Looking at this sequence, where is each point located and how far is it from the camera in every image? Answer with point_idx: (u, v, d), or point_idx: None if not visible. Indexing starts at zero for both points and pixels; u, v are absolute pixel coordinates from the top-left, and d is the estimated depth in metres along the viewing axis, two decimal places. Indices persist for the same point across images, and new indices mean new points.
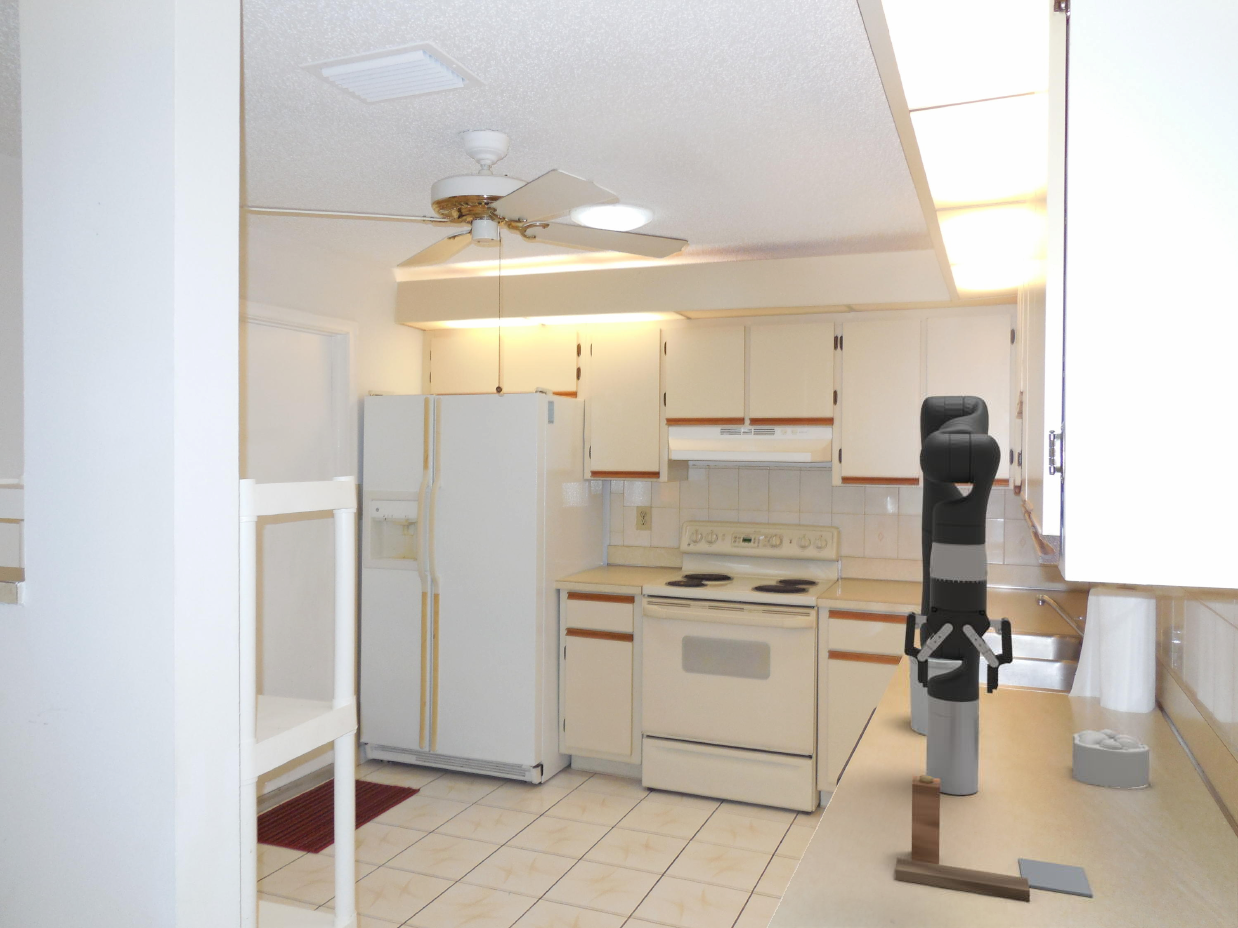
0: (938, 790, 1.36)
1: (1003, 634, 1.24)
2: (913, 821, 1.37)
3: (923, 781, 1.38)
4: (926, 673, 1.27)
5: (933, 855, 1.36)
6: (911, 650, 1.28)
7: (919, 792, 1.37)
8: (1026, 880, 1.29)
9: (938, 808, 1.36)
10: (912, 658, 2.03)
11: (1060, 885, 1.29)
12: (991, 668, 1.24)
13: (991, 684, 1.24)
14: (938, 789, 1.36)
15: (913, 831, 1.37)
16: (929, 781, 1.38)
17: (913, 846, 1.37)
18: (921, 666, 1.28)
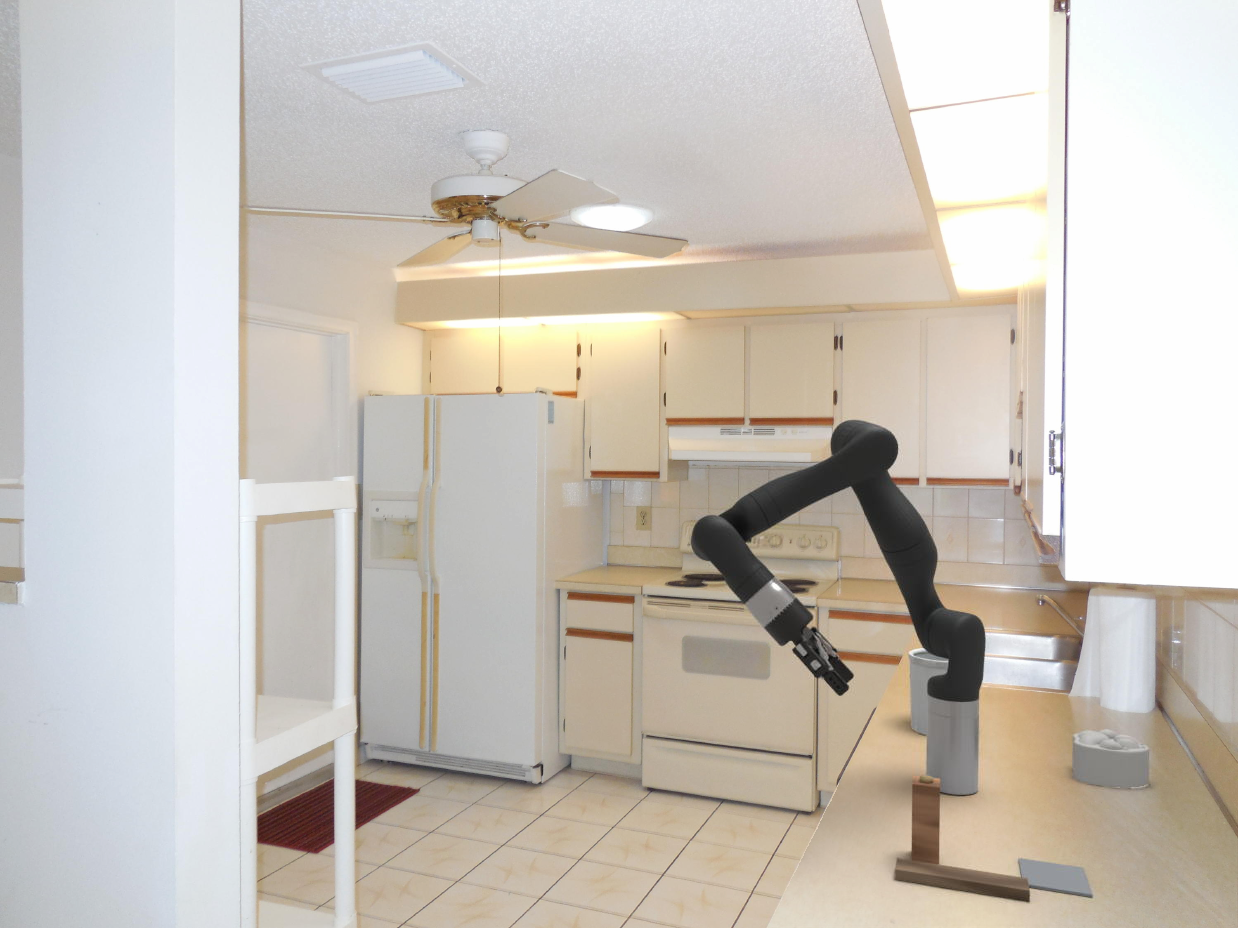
0: (938, 790, 1.36)
1: None
2: (913, 821, 1.37)
3: (923, 781, 1.38)
4: None
5: (933, 855, 1.36)
6: None
7: (919, 792, 1.37)
8: (1026, 880, 1.29)
9: (938, 808, 1.36)
10: (912, 658, 2.03)
11: (1060, 885, 1.29)
12: (824, 679, 1.43)
13: (834, 690, 1.43)
14: (938, 789, 1.36)
15: (913, 831, 1.37)
16: (929, 781, 1.38)
17: (913, 846, 1.37)
18: None
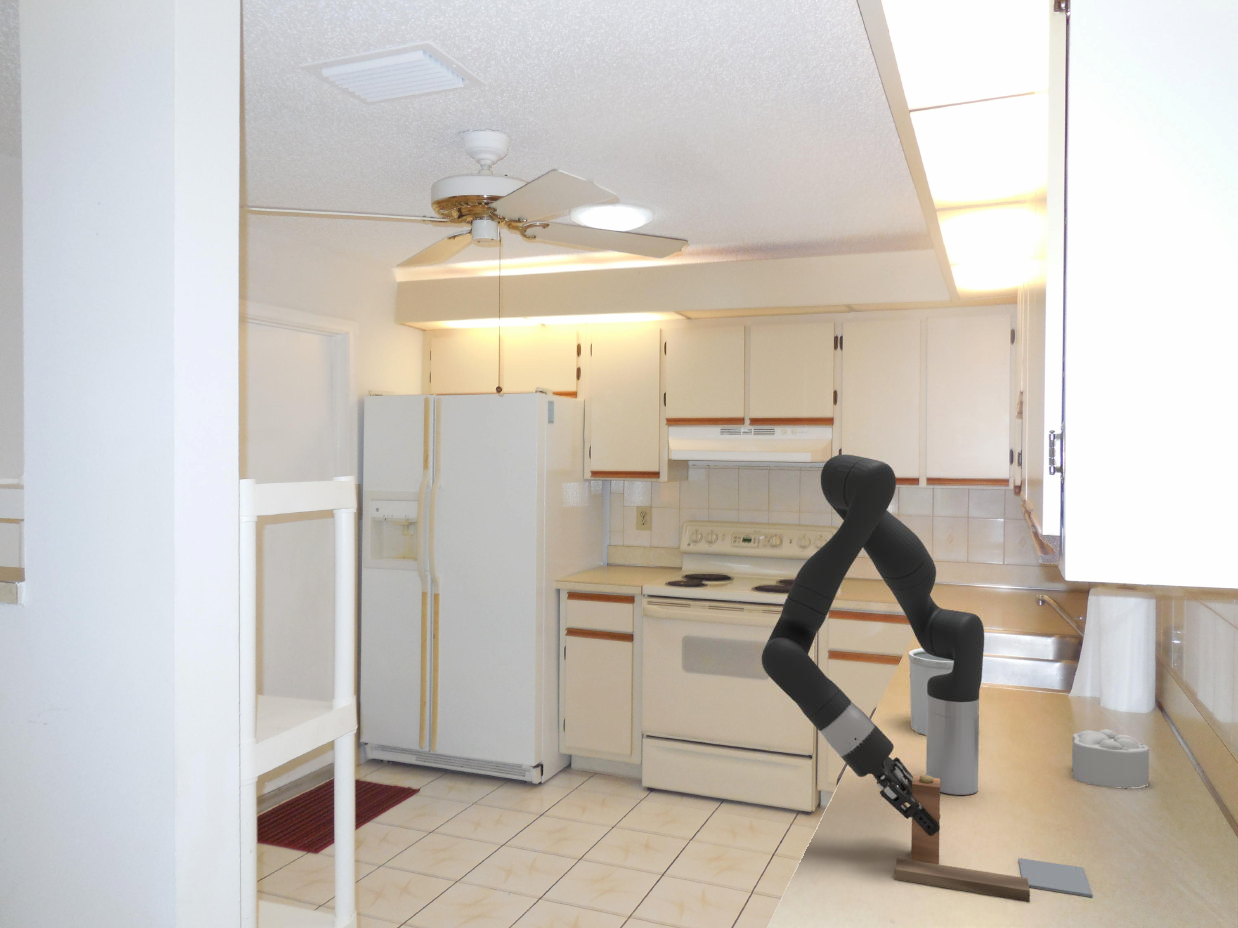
0: (938, 790, 1.36)
1: None
2: (913, 821, 1.37)
3: (923, 781, 1.38)
4: None
5: (933, 855, 1.36)
6: None
7: (919, 792, 1.37)
8: (1026, 880, 1.29)
9: (938, 808, 1.36)
10: (912, 658, 2.03)
11: (1060, 885, 1.29)
12: (913, 817, 1.37)
13: (923, 829, 1.36)
14: (938, 789, 1.36)
15: (913, 831, 1.37)
16: (929, 781, 1.38)
17: (913, 846, 1.37)
18: None
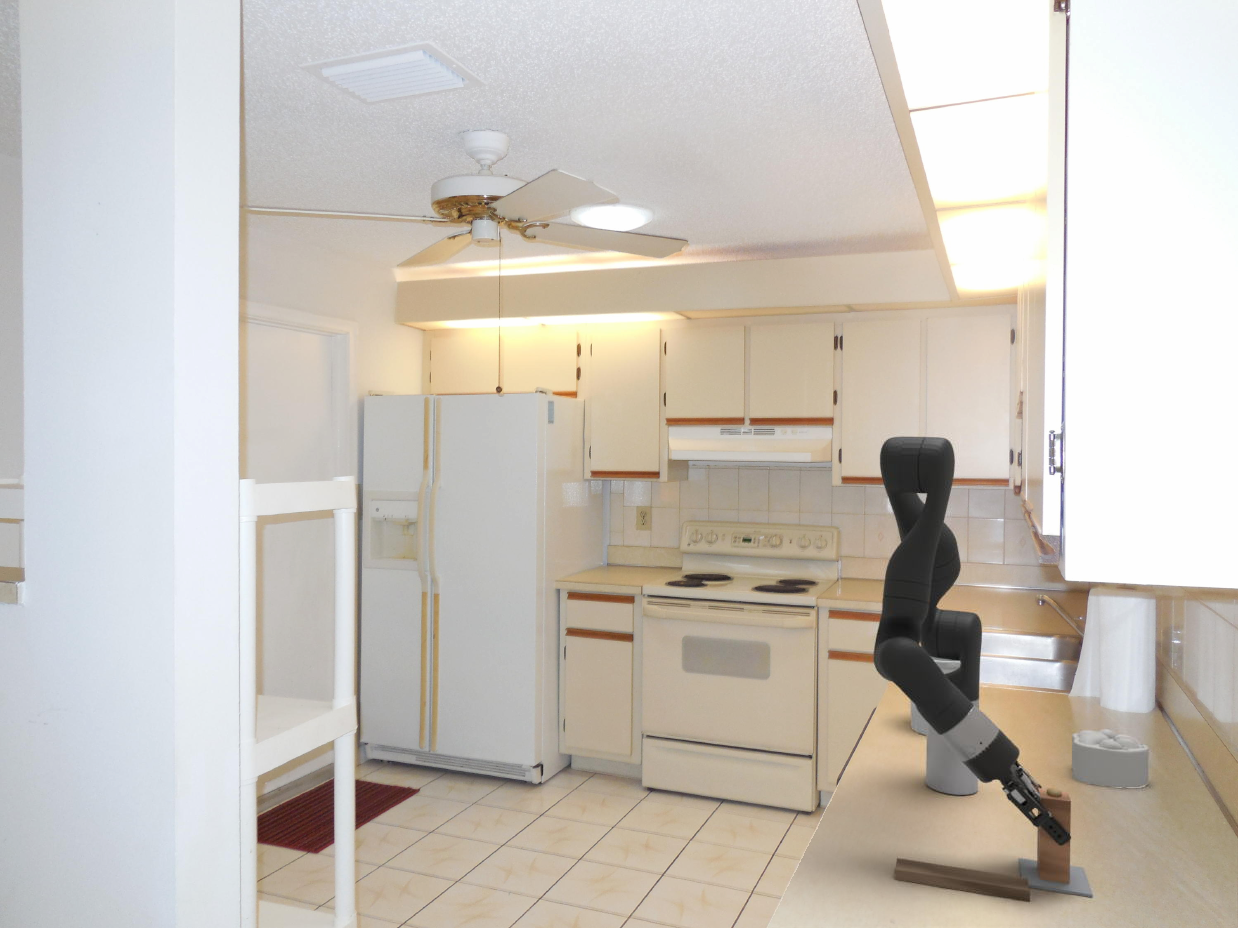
0: (1069, 804, 1.30)
1: None
2: (1041, 836, 1.31)
3: (1051, 794, 1.32)
4: None
5: (1063, 872, 1.30)
6: None
7: (1048, 806, 1.31)
8: (1026, 880, 1.29)
9: (1069, 823, 1.30)
10: None
11: (1060, 885, 1.29)
12: (1041, 826, 1.30)
13: (1053, 838, 1.29)
14: (1069, 803, 1.30)
15: (1041, 847, 1.31)
16: (1058, 794, 1.32)
17: (1041, 862, 1.31)
18: None
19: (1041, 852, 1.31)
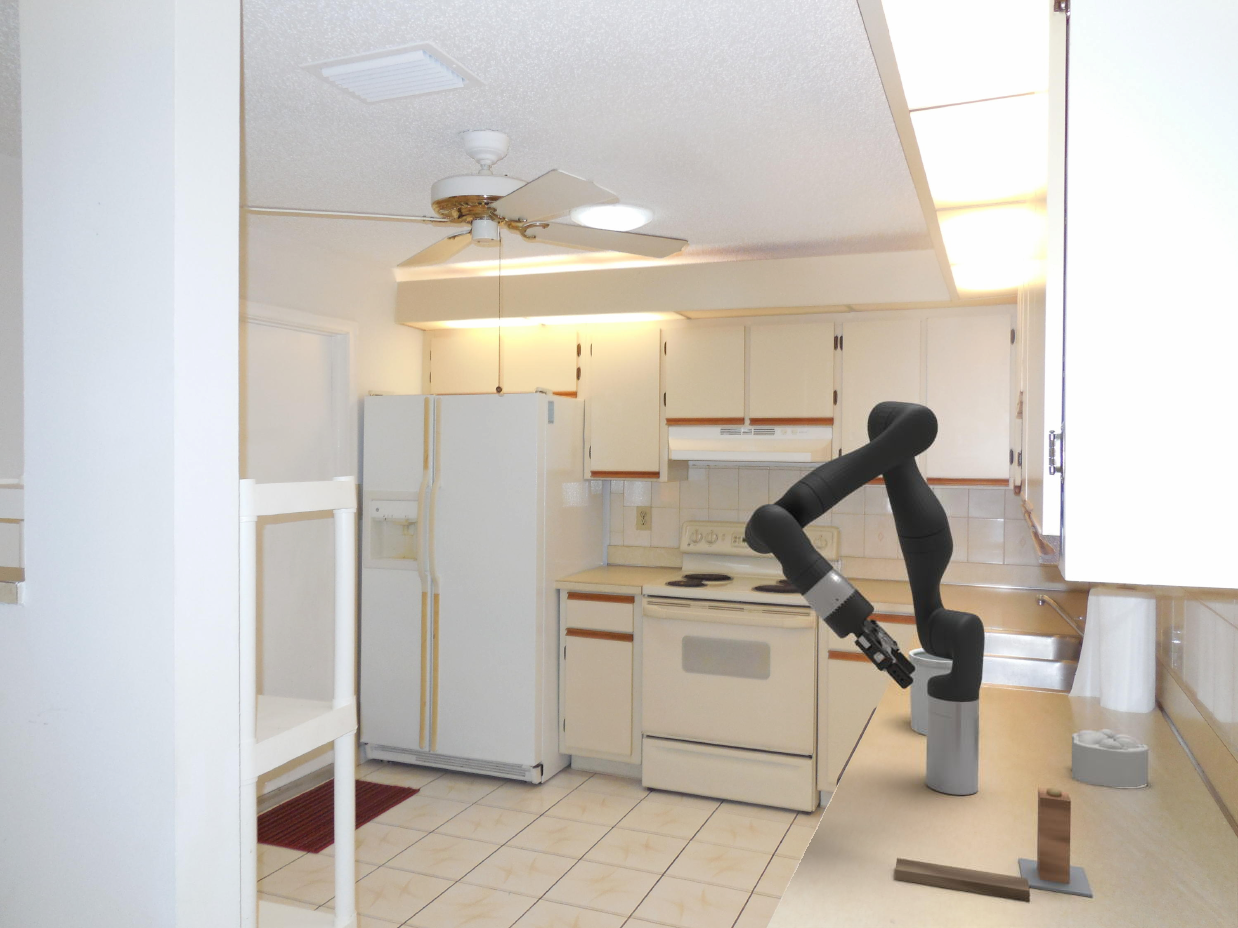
0: (1069, 804, 1.30)
1: None
2: (1041, 836, 1.31)
3: (1051, 794, 1.32)
4: None
5: (1063, 872, 1.30)
6: None
7: (1048, 806, 1.31)
8: (1026, 880, 1.29)
9: (1069, 823, 1.30)
10: (912, 658, 2.03)
11: (1060, 885, 1.29)
12: (887, 672, 1.40)
13: None
14: (1069, 803, 1.30)
15: (1041, 847, 1.31)
16: (1058, 794, 1.32)
17: (1041, 862, 1.31)
18: None
19: (1041, 852, 1.31)
